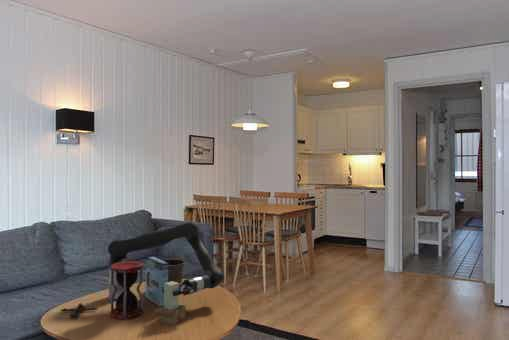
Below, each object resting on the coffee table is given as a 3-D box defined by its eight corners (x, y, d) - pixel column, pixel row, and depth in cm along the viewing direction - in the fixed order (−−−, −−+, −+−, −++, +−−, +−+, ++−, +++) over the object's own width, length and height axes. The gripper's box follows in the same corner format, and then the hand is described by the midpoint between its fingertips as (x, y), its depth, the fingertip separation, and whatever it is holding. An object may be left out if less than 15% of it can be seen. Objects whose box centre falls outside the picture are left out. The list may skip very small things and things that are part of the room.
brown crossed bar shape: (54, 314, 201) (63, 301, 215) (54, 322, 201) (63, 309, 216) (92, 312, 204) (99, 300, 218) (93, 321, 204) (99, 308, 218)
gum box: (145, 297, 236) (145, 257, 236) (153, 295, 239) (153, 256, 239) (159, 306, 221) (160, 264, 221) (168, 305, 224) (168, 262, 224)
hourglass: (107, 320, 201) (107, 269, 201) (113, 309, 217) (113, 261, 216) (141, 318, 203) (141, 268, 203) (144, 307, 219) (145, 260, 219)
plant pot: (171, 293, 244) (171, 266, 244) (152, 289, 253) (152, 262, 252) (190, 287, 257) (190, 261, 257) (171, 283, 266) (171, 258, 266)
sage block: (170, 310, 200) (170, 285, 199) (163, 307, 203) (164, 283, 203) (178, 307, 204) (178, 283, 203) (171, 305, 207) (172, 281, 206)
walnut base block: (174, 324, 197) (174, 312, 197) (156, 321, 200) (156, 309, 200) (185, 317, 206) (185, 305, 206) (168, 314, 210) (168, 303, 210)
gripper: (183, 275, 219) (158, 282, 206) (202, 280, 210) (177, 287, 197) (183, 289, 219) (158, 297, 206) (202, 295, 210) (177, 303, 197)
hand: (168, 292), depth 201 cm, fingers open, 7 cm apart
